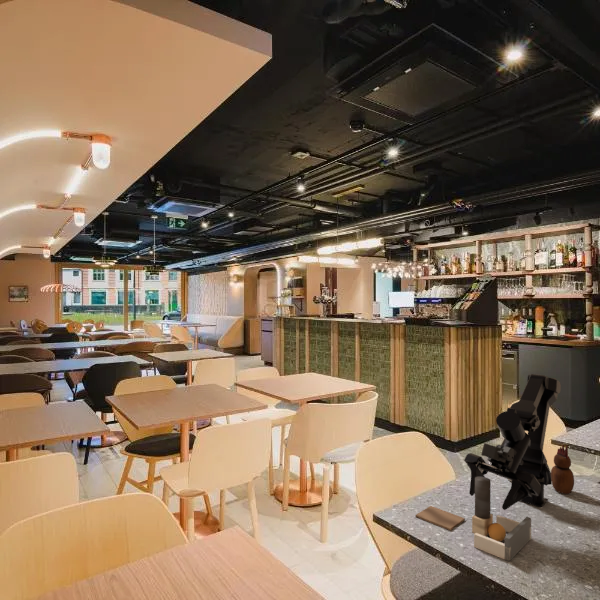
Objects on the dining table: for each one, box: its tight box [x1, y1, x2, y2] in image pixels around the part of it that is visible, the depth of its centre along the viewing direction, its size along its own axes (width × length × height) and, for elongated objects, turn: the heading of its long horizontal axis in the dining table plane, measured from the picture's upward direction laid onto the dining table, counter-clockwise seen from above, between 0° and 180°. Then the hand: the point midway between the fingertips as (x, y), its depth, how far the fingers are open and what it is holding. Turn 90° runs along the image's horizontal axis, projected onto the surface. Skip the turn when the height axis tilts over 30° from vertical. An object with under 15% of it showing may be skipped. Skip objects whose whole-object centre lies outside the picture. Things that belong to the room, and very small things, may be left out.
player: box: [471, 477, 494, 537], centre depth 109 cm, size 5×4×13 cm
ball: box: [488, 522, 507, 542], centre depth 107 cm, size 4×4×4 cm
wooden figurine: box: [550, 444, 575, 495], centre depth 136 cm, size 7×6×15 cm
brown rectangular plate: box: [415, 505, 466, 531], centre depth 117 cm, size 8×10×1 cm
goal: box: [473, 514, 532, 562], centre depth 106 cm, size 14×8×5 cm, turn 134°
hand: (486, 501), depth 110 cm, fingers open, 9 cm apart
